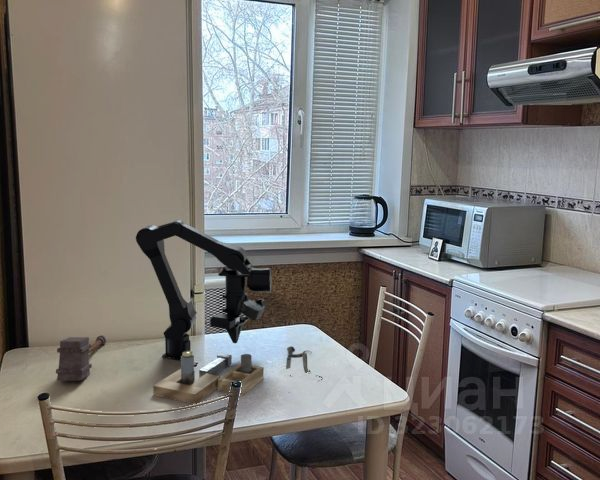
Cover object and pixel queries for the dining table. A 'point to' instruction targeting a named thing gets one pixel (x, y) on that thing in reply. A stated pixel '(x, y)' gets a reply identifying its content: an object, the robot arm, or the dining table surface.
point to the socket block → (186, 387)
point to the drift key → (216, 365)
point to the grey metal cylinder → (187, 368)
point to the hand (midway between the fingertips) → (235, 342)
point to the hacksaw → (291, 349)
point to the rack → (242, 375)
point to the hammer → (76, 357)
